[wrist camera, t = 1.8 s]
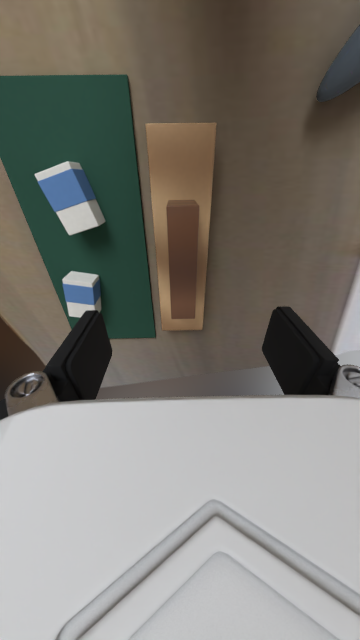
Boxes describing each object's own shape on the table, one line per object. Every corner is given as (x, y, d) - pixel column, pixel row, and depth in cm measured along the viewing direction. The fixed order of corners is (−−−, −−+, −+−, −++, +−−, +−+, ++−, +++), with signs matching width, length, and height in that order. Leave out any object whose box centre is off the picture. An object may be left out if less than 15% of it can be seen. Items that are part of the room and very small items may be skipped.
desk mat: (-30, 78, 15) (-34, 76, 15) (128, 76, 15) (126, 74, 15) (76, 337, 30) (75, 339, 30) (155, 335, 30) (155, 337, 30)
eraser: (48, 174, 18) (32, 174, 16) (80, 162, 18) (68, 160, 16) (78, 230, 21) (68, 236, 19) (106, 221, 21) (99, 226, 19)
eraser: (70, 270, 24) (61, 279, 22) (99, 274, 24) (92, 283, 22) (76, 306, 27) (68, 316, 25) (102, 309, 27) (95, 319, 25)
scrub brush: (148, 129, 17) (135, 106, 11) (211, 129, 17) (229, 104, 11) (163, 319, 29) (159, 355, 23) (200, 319, 29) (206, 354, 23)
